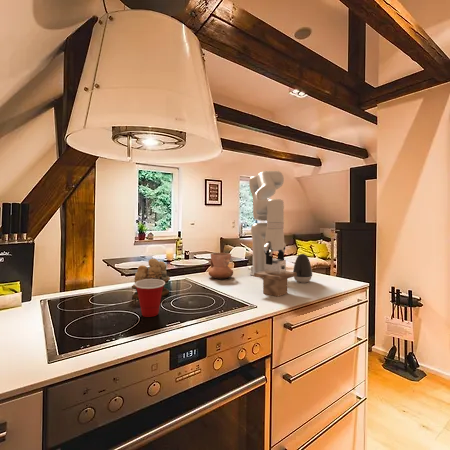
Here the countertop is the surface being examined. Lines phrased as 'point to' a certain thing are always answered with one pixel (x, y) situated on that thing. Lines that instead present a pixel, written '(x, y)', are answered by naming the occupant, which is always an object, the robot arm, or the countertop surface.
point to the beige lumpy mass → (152, 275)
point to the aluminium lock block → (276, 267)
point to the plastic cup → (149, 296)
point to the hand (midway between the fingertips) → (275, 262)
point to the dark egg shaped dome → (302, 269)
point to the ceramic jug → (220, 266)
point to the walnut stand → (275, 282)
